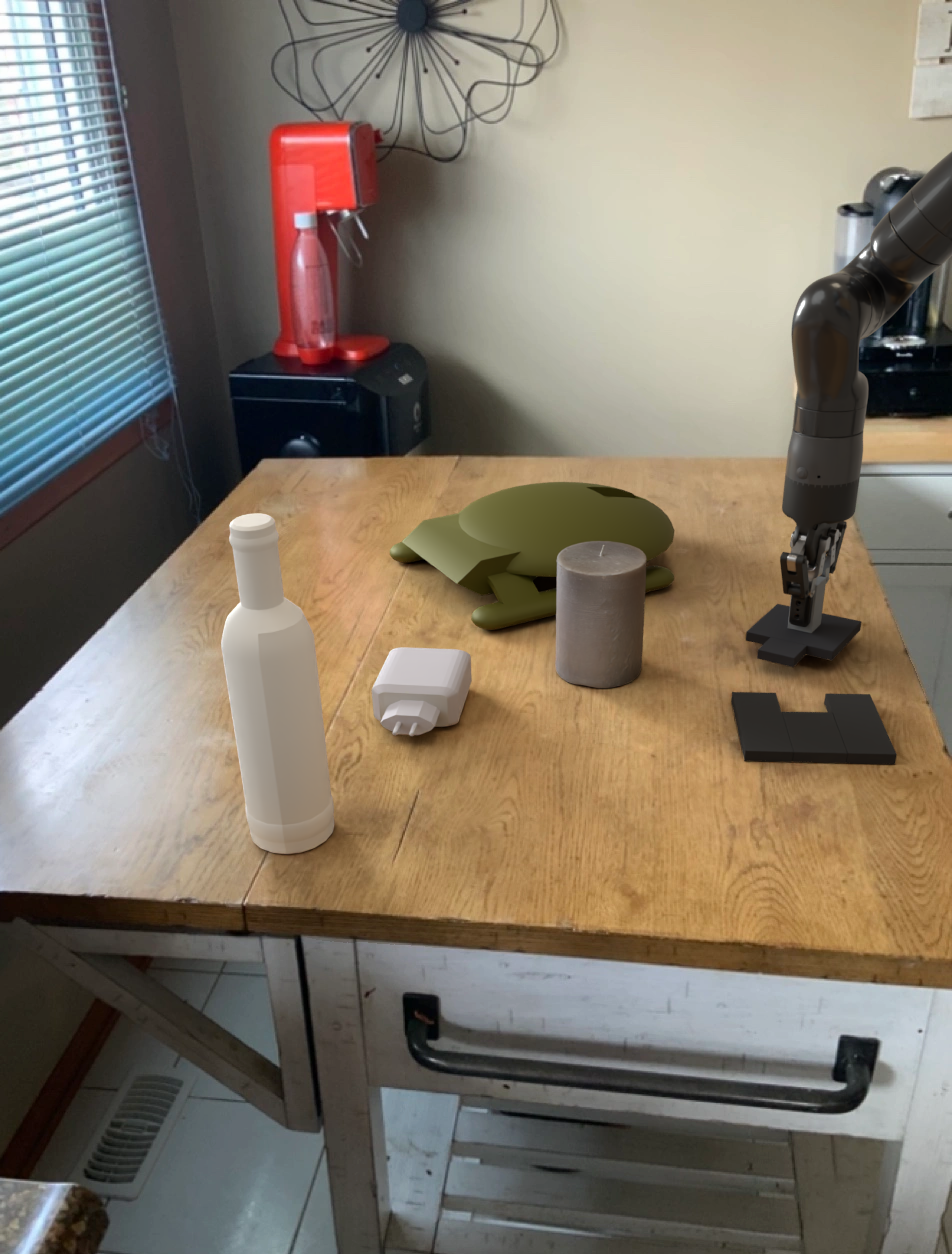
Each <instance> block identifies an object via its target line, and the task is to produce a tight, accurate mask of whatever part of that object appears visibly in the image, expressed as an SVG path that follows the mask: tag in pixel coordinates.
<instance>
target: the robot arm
mask: <svg viewBox="0 0 952 1254" xmlns="http://www.w3.org/2000/svg"><path fill="white" fill-rule="evenodd" d="M869 240H870V241H869V242H867V244H866V245H865V246H864V247H863V248H862V249H861V251H859V252H858V254H857V255H856V256H854V258H852V260H851V261H850V262H848V264H846V265H845V266H844V267H843V268H841V269H840V270H839V271H837V272H835V273H832V274H829V275H826V276H823V277H820V278H818V279H816V280H815V281H813V282H812V283H810V284H809V285H808V286H807V287H806V288H805V289H804V290H803V291H802V293H801V294H800V296H799V297H798V300H797V302H796V304H795V308H794V312H793V315H792V322H791V336H790V337H791V349H792V350H791V351H792V358H793V370H794V376H795V381H796V389H797V390H796V395H795V400H794V401H795V402H794V411H793V420H792V430H791V435H790V439H789V443H788V446H787V447H788V448H787V453H786V454H787V455H786V464H785V473H784V474H785V476H784V482H783V483H784V484H783V491H782V492H783V494H782V495H783V496H782V502H781V510H782V511H781V512H782V513H783V514H784V515H785V517H787V518H790V519H791V520H793V522H794V523H795V525H796V526H795V528H794V530H793V531H792V533H791V536H790V542H789V546H790V548H791V549H790V552H788V551H787V552H786V551H782V552H781V554H780V556H779V565H780V573H781V583H782V591H783V594H785V595H790V602H791V606H790V605H789V606H790V615H789V622H790V624H792V625H796V626H800V627H807V626H808V625H809V624H810V620H811V612H812V604H813V595H814V593H815V586H816V580H817V577H818V576H822V577H827V578H826V585H827V584H828V582H829V581H830V574H832V575H833V574H834V573H835V571H836V567H837V563H838V559H839V556H840V552H841V548H842V544H843V541H844V537H845V533H846V530H847V528H848V524H847V520H849V519H851V518H852V517H853V516H854V515H855V513H856V508H857V501H858V493H859V486H860V478H861V471H862V463H863V458H864V456H863V455H864V429H865V422H866V421H865V420H866V416H867V407H868V399H869V380H868V378H867V377H866V376H865V374H864V373H862V372H861V371H859V359H860V358H859V357H860V356H859V354H860V353H859V352H860V344H861V340H863V339H866V338H868V337H869V336H871V335H873V334H874V333H875V332H877V330H879V329H880V328H881V327H882V326H883V325H884V324H886V323H887V321H889V320H890V319H891V318H892V317H893V316H894V315H895V314H896V313H897V312H898V311H899V309H900V308H901V307H902V306H903V305H904V304H905V303H906V302H907V301H908V299H909V298H910V297H911V296H912V295H913V294H914V293H915V291H917V290H918V288H919V287H920V285H921V284H922V283H923V282H924V280H926V279H927V278H928V277H929V276H931V275H932V274H933V273H934V272H936V271H937V270H938V269H939V268H940V267H942V266H943V264H945V263H946V262H947V261H948V260H949V259H950V258H951V257H952V150H951V151H950V152H949V153H947V154H946V156H944V157H943V158H942V159H941V160H940V161H938V162H937V164H935V165H934V166H933V167H932V168H931V169H930V170H929V171H927V172H926V173H925V174H924V176H922V177H921V178H920V179H919V180H918V181H917V182H916V183H915V184H914V185H913V186H912V187H911V188H910V189H909V190H908V192H906V193H905V195H903V197H902V198H900V199H899V200H898V202H897V203H896V204H895V205H894V206H893V207H891V209H890V210H889V211H888V212H887V213H886V214H885V215H884V216H883V217H882V218H881V219H880V221H879V222H878V223H877V225H876V226H875V227H874V229H873V230H872V232H871V235H870V238H869ZM808 578H809V580H808ZM791 595H792V597H791Z"/></svg>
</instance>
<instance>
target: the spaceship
mask: <svg viewBox="0 0 952 1254" xmlns="http://www.w3.org/2000/svg"><path fill="white" fill-rule="evenodd" d="M674 538H675V528H674V525H673V523H672V520H671V518H670V517H669V516H668V515H667V513H666V512H665V511H664V510H663V509H662V508H660V506H658V505H656V503H653V502H651V501H649V500H648V499H647V498H643V497H641V496H639V495H636V494H634V493H633V492H631V491H627V490H625V489H621V488H617V487H614V486H610V485H605V484H598V483H589V482H581V481H579V482H578V481H547V482H538V483H529V484H528V483H527V484H522V485H517V486H516V485H515V486H512V487H508V488H504V489H500V490H498V491H495V492H492V493H490V494H487V495H484V496H482V497H480V498H478V499H476V500H474V501H472V502H471V503H469V504H468V505H466V506H465V507H464V508H462V509H461V510H459V512H457V513H452V514H448V515H447V514H446V515H443V516H439V517H438V516H437V517H432V518H428V519H427V518H426V519H423V520H422V521H421V522H420V523H419V524H418V525H417V526H416V527H414V529H412V531H410V533H409V534H407V535H406V537H405V538H404V539H403V540H402V541H400V542H397V543H394V545H392V546H391V547H390V549H389V556H390V558H391V559H393V560H394V561H396V562H399V563H407V564H408V563H414V562H418V561H423V560H425V561H426V562H427V563H428V564H430V565H431V566H433V567H434V568H436V570H438V571H439V572H441V573H442V574H444V576H446V577H447V578H448V579H450V580H451V581H452V582H454V583H455V584H456V585H459V586H461V587H463V588H465V589H467V590H469V591H471V592H473V593H476V594H477V595H479V596H486V595H490V594H494V595H495V597H496V599H497V601H495V602H492V603H488V604H484V605H481V606H479V607H477V608H476V609H474V610H473V611H472V613H471V616H470V618H471V621H472V623H473V624H474V625H475V626H476V627H478V628H480V629H483V630H493V631H494V630H500V629H504V628H508V627H513V626H518V625H520V624H525V623H528V622H533V621H537V620H541V619H544V618H548V617H553V616H556V600H557V598H556V595H557V587H553V588H550V589H545V590H541V591H539V590H538V588H537V587H536V585H535V584H534V581H535V580H536V579H537V578H538V577H549V578H550V577H551V578H555V577H556V578H557V561H556V560H557V557H558V554H559V553H560V552H561V551H562V550H563V549H565V548H567V547H569V546H572V545H575V544H579V543H583V542H591V541H611V542H618V543H624V544H628V545H631V546H634V547H636V548H639V549H640V550H641V551H643V553H644V554H645V555H646V558H647V562H648V561H651V560H653V559H656V558H658V557H659V556H660V555H662V554H663V553H664V552H666V551H667V550H668V549H669V547H670V546H671V545H672V544H673V542H674ZM674 582H675V574H674V572H673V571H672V570H671V569H670V568H667V567H665V566H662V565H646V586H645V594H646V593H650V592H653V591H658V590H661V589H666V588H667V587H670V586H671V584H672V583H674Z"/></svg>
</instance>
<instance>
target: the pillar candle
mask: <svg viewBox="0 0 952 1254" xmlns="http://www.w3.org/2000/svg"><path fill="white" fill-rule="evenodd" d="M556 561H557V577H556V588H557V595H556V598H557V600H556V615H555V663H554V664H555V671H556V673H557V675H558V676H559V677H560V678H561V679H562V680H564V681H565V682H567V683H570V684H572V685H578V686H579V685H580V686H585V687H590V688H595V689H596V688H597V689H611V688H616V687H620V686H621V687H622V686H625V685H627V684H629V683H631V682H632V681H634V680H636V679H637V677H638V676H639V675H640V674H641V672H642V669H643V653H644V652H643V650H644V649H643V648H644V627H645V606H646V593H645V586H646V566H647V562H648V561H647V558H646V555H645V554H644V553H643V551H641V550H640V549H639V548H636V547H634V546H631V545H628V544H624V543H618V542H611V541H591V542H583V543H579V544H575V545H572V546H569V547H567V548H565V549H563V550H562V551H561V552H560V553H559V554H558V557H557V560H556Z"/></svg>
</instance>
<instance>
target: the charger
mask: <svg viewBox="0 0 952 1254" xmlns="http://www.w3.org/2000/svg"><path fill="white" fill-rule="evenodd" d="M472 675H473V674H472V655H471V654H470V653H469V652H467V651H465V650H462V649H456V648H434V647H433V648H432V647H431V648H430V647H410V646H409V647H407V646H406V647H405V646H403V647H401V646H400V647H395V648H392V649H391V650H390V651H389V652H388V654H387V657H386V659H385V661H384V663H383V665H382V667H381V669H380V671H379V673H378V675H377V678H376V679H375V681H374V683H373V686H372V688H371V700H372V712H373V717H374V719H376V720H377V721H379V724H380V725H381V726H382V727H383V728H385V730H387V731H390V732H391V733H392V735H393V736H397V735H408V736H409V737H414V736H420V735H423V734H425V733H428V732H430V731H432V730H433V729H434V728H435V727H441V728H442V727H450V726H454V725H457V724H458V723H459V721H460V718H461V715H462V711H463V709H464V706H465V703H466V700H467V697H468V693H469V691H470V687H471V684H472V682H473V679H472V677H473V676H472Z"/></svg>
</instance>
